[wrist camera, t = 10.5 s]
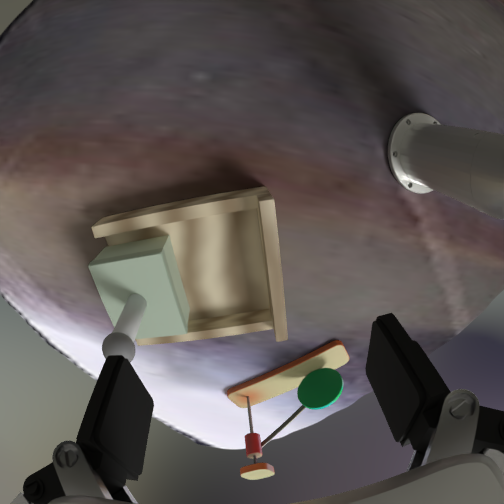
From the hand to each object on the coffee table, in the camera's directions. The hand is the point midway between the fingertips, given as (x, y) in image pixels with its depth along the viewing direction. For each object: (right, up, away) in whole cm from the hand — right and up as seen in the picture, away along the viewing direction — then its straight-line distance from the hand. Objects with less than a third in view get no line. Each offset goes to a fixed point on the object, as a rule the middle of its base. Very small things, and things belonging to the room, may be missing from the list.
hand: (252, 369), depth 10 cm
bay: (-8, +2, +31) cm, 32 cm away
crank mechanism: (+7, -20, +43) cm, 48 cm away
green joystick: (-15, 0, +29) cm, 33 cm away
